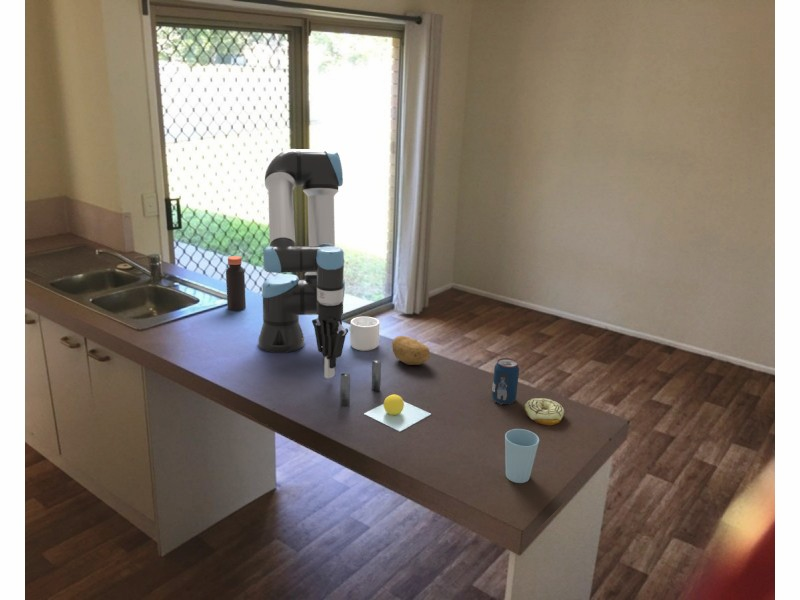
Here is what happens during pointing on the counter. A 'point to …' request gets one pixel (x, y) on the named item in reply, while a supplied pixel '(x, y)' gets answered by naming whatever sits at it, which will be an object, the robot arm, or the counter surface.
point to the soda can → (505, 381)
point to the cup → (520, 454)
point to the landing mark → (398, 416)
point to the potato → (410, 350)
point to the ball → (393, 404)
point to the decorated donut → (544, 411)
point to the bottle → (235, 284)
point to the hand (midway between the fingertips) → (329, 376)
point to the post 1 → (345, 390)
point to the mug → (364, 333)
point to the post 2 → (376, 375)
